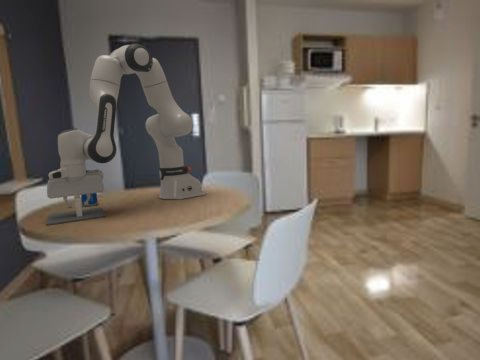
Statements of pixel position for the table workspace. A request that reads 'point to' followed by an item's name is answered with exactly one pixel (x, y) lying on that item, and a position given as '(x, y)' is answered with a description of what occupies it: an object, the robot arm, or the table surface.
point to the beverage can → (92, 199)
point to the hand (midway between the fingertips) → (78, 206)
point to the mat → (75, 216)
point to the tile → (78, 205)
